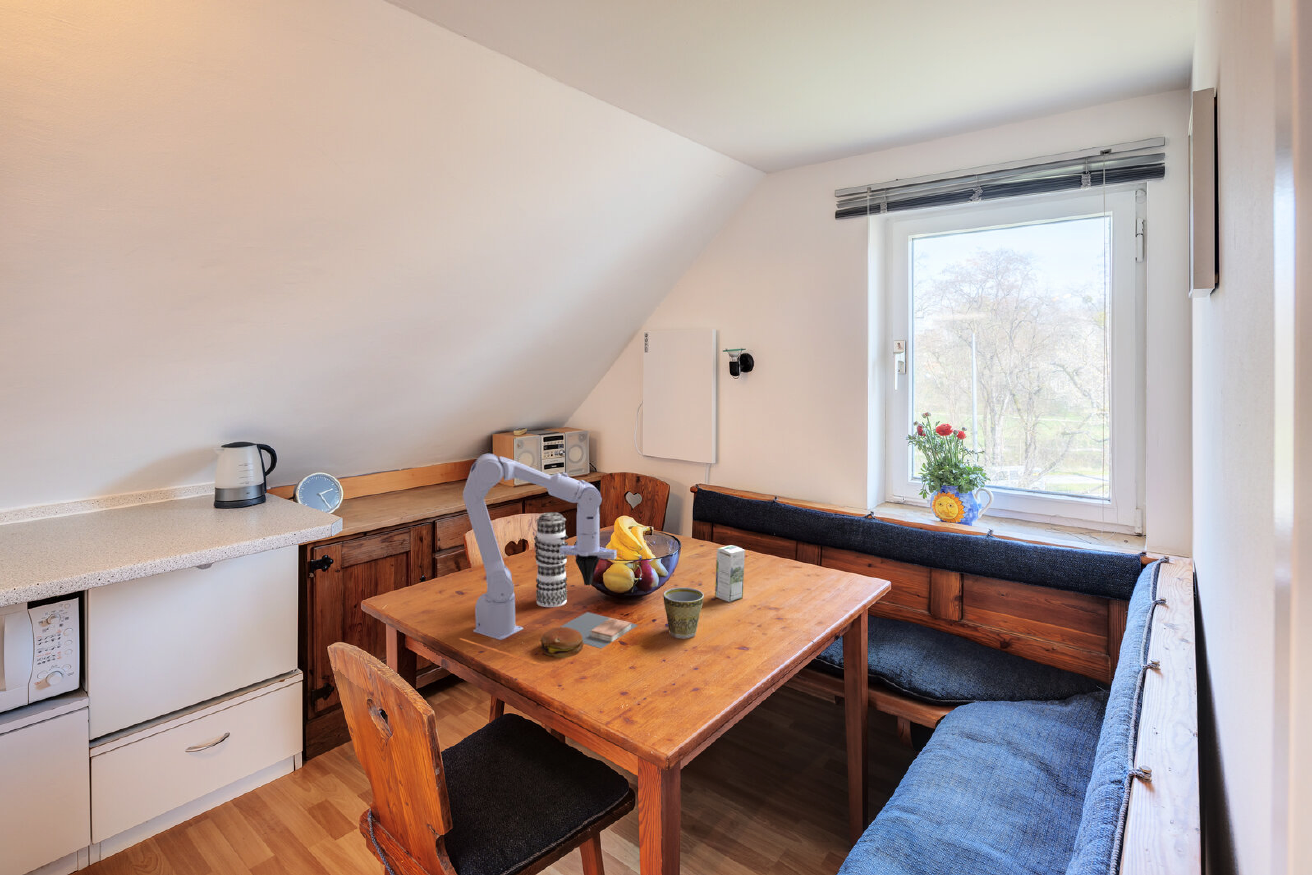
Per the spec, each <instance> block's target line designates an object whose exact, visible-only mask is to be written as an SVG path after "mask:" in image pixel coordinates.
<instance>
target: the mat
mask: <svg viewBox="0 0 1312 875" xmlns="http://www.w3.org/2000/svg"><path fill="white" fill-rule="evenodd" d="M609 618H610V617H608V616H605V615H604V616H603V615H600V614H597V613H593V612H588V611H586V612H585V613H583V614H581V615H579V616H578V617H575V618H574V619H572V620H569V622H566V623H564V624H563V625H561V626H560V627H567V628H571V629H574V630H577V631H578V632H579V633H580V634H581V635H582V638H583V642H584V645H587V646H591V647H595V648H598V649H603V648H605V647H607V646H608V645H609V644H611V643H612V642H610V641H606V640H602V639H598V638H594V637H591V630H593V629H594V628H596V627H597V626H599V625H600V624H602V623H603V622H605V621H606V620H608V619H609ZM637 626H639V625H638V624H635V623H632V622H631V629H630V630H628V631H627V632H625V633H624V634H623V635H621V636H620V637H618V638H617V639H619V638H621V637H622V636H624V635H626V634H627V633H628V632H630V631H632V630H633V629H635V628H636V627H637Z"/></svg>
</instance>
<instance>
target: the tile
mask: <svg viewBox="0 0 1312 875" xmlns="http://www.w3.org/2000/svg"><path fill="white" fill-rule="evenodd" d="M631 623H632V622H630V621H627V620H623V619H617V618H613V617H609V619H608V620H606V621H605V622H603V623H602V624H600V625H599V626H597V627H596V628H594V629H593V630H591V637H594V638H598V639H602V640H606V641H610V642H611V643H613V642H614V641H616V640H617V639H619V638H621V637H622V636H624V635H625V634H626V633H625V632H627V631H628V630H630V629H631ZM630 631H631V630H630ZM628 632H629V631H628ZM628 632H627V633H628ZM624 633H625V634H624ZM623 634H624V635H623ZM621 635H622V636H621ZM620 636H621V637H620ZM618 637H619V638H618Z"/></svg>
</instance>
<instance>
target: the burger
mask: <svg viewBox="0 0 1312 875" xmlns="http://www.w3.org/2000/svg"><path fill="white" fill-rule="evenodd" d="M540 643H541V647H540V649H542V650H543V653H544V654H546V656H549V657H550V656H551V657H553V658H559V659H560V658H561V659H562V658H563V659H564V658H569V657H573V656H576V655H578V654H579V653H580V651H582V649H583V648H584V645H585V644H584V642H583V638H582V635H581V634H580V633H579V632H578V631H577V630H574V629H571V628H567V627H561V626H558V627H554V628H551V629H549V630H548V631H546V632H545V633H543V634H542V636H541V638H540Z"/></svg>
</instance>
